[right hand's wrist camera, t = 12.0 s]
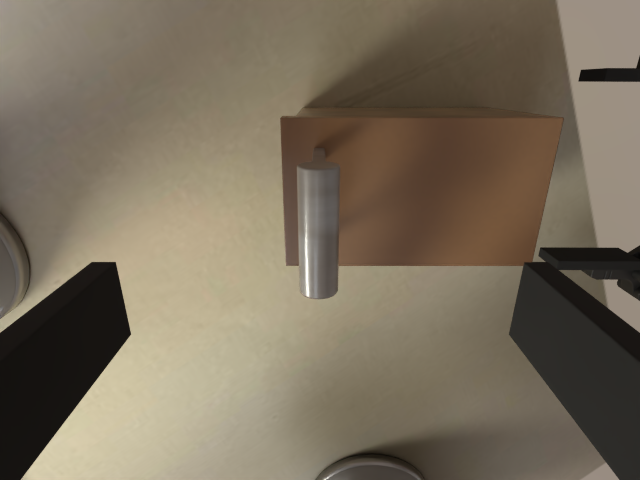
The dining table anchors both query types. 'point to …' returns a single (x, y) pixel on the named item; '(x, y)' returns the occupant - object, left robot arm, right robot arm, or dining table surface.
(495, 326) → the dining table surface
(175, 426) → the dining table surface
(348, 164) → the lid
